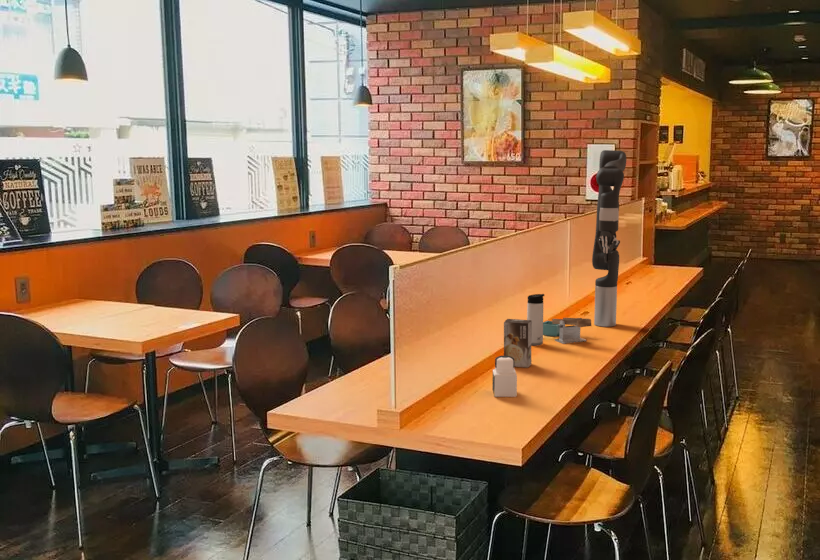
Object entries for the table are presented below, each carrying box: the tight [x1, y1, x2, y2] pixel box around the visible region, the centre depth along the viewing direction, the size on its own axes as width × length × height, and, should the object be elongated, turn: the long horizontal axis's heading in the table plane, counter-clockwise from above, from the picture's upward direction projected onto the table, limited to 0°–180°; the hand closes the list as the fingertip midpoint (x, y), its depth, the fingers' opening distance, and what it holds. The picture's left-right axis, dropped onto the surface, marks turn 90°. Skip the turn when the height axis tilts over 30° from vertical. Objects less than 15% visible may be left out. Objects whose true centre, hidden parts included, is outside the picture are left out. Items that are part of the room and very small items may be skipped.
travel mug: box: [526, 293, 545, 347], centre depth 336 cm, size 6×7×20 cm
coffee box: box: [503, 318, 532, 368], centre depth 305 cm, size 9×6×16 cm
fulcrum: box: [554, 320, 587, 345], centre depth 342 cm, size 11×6×8 cm, turn 113°
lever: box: [551, 317, 592, 328], centre depth 343 cm, size 13×19×3 cm
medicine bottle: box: [492, 355, 518, 398], centre depth 270 cm, size 7×7×12 cm
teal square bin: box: [543, 320, 560, 338], centre depth 355 cm, size 8×8×5 cm
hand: (607, 262), depth 343 cm, fingers closed
